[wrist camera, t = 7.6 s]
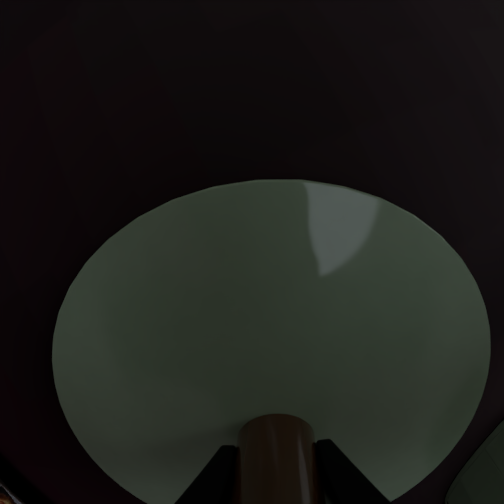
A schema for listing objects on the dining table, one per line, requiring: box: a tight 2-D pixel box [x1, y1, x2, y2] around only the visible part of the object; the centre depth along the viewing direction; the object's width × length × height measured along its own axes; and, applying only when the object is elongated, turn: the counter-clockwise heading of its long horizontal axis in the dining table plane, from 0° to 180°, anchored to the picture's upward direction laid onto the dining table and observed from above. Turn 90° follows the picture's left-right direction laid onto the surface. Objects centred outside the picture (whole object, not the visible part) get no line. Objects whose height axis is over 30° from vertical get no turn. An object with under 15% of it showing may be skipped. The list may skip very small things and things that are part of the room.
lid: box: [52, 179, 491, 504], centre depth 7 cm, size 15×15×6 cm
